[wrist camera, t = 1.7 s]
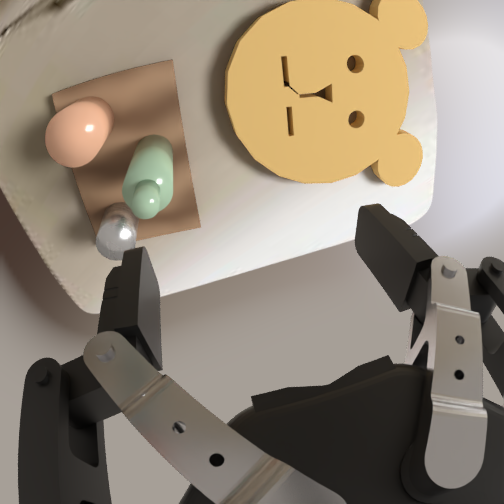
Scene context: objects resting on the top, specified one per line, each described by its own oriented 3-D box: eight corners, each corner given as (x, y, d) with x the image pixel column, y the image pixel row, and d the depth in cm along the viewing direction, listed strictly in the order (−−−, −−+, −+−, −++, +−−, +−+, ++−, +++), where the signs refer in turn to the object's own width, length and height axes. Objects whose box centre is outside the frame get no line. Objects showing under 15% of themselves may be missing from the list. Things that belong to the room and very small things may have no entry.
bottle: (131, 139, 34) (110, 187, 23) (169, 130, 35) (167, 174, 24) (139, 174, 37) (126, 236, 26) (176, 166, 38) (178, 224, 27)
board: (55, 92, 29) (51, 94, 28) (172, 59, 31) (172, 59, 30) (102, 242, 43) (101, 248, 42) (199, 221, 45) (200, 227, 44)
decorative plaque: (240, 207, 46) (410, 176, 49) (243, 216, 44) (419, 182, 47) (206, -14, 26) (414, -3, 29) (209, -18, 24) (425, -3, 27)
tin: (99, 206, 38) (90, 231, 33) (133, 198, 39) (128, 222, 34) (110, 237, 41) (103, 263, 37) (143, 229, 42) (140, 256, 37)
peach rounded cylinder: (60, 105, 29) (38, 118, 23) (108, 89, 30) (94, 99, 24) (72, 152, 33) (55, 174, 27) (119, 139, 34) (108, 158, 28)
